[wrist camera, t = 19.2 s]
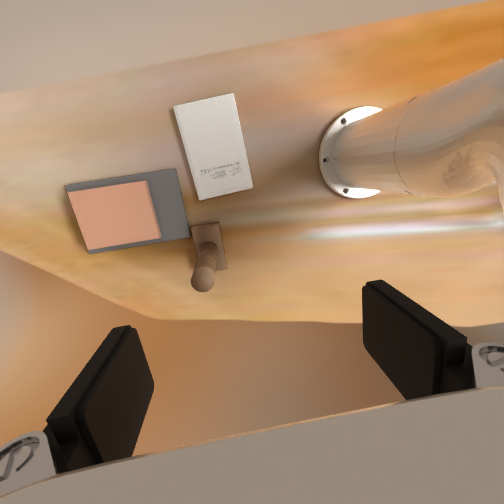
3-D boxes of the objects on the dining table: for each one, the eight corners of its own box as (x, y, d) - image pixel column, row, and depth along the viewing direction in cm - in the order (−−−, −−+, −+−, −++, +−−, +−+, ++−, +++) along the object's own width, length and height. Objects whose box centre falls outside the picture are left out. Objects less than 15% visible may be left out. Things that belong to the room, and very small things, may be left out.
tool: (218, 222, 39) (214, 246, 26) (226, 264, 41) (227, 307, 28) (192, 226, 39) (175, 253, 26) (202, 268, 41) (190, 314, 28)
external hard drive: (233, 96, 35) (252, 187, 39) (174, 109, 35) (199, 199, 39) (233, 92, 33) (253, 188, 37) (172, 105, 33) (198, 200, 37)
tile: (144, 180, 34) (67, 192, 34) (159, 238, 37) (87, 250, 36) (147, 180, 35) (72, 191, 35) (161, 235, 38) (92, 247, 37)
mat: (175, 168, 36) (174, 168, 36) (191, 236, 40) (190, 237, 39) (68, 184, 36) (64, 185, 35) (92, 252, 39) (89, 254, 38)
